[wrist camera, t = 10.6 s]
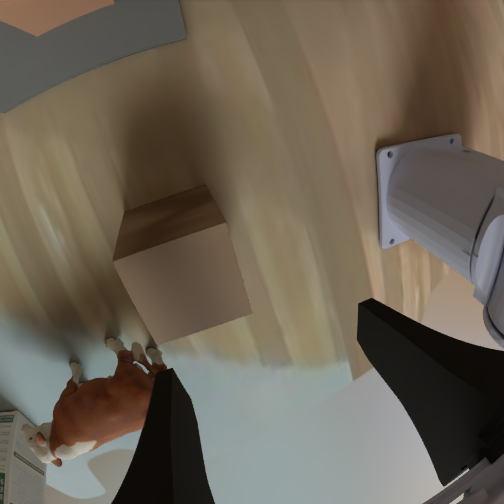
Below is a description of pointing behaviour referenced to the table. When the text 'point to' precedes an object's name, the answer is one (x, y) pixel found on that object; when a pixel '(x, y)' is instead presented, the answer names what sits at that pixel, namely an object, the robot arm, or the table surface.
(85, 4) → the terracotta brick
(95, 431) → the bull figurine
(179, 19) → the slate mat
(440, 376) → the robot arm
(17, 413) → the syrup box
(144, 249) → the walnut block
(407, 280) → the table surface
